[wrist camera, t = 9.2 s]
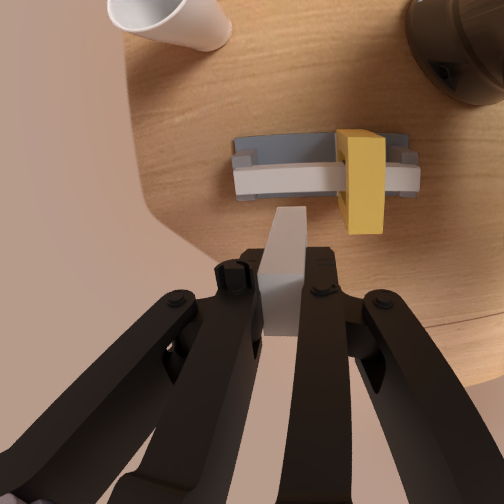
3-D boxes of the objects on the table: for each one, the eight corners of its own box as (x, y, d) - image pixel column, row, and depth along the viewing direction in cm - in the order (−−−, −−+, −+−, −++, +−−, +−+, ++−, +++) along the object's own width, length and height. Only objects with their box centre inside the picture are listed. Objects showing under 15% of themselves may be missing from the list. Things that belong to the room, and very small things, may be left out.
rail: (235, 137, 32) (218, 146, 25) (406, 134, 28) (431, 143, 22) (242, 197, 35) (228, 220, 28) (404, 193, 31) (426, 216, 25)
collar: (335, 129, 28) (347, 137, 21) (364, 129, 27) (385, 137, 20) (338, 203, 31) (348, 234, 24) (365, 203, 31) (382, 233, 24)
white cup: (251, 39, 26) (212, -6, 13) (197, 69, 28) (125, 52, 15) (222, -4, 24) (169, -61, 11) (171, 26, 26) (93, -6, 13)
